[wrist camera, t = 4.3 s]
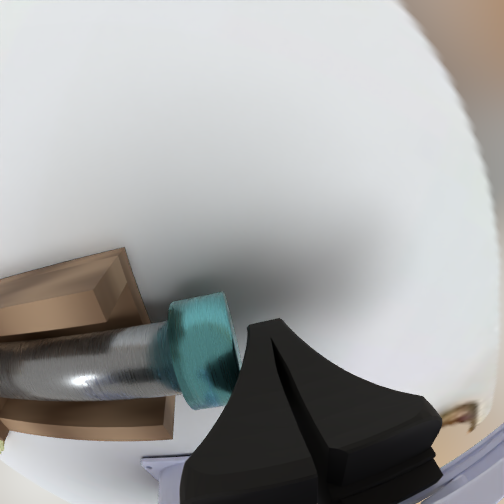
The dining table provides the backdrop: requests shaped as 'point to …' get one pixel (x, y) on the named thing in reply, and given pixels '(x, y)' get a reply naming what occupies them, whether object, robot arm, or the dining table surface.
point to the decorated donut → (1, 446)
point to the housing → (73, 323)
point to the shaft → (132, 360)
